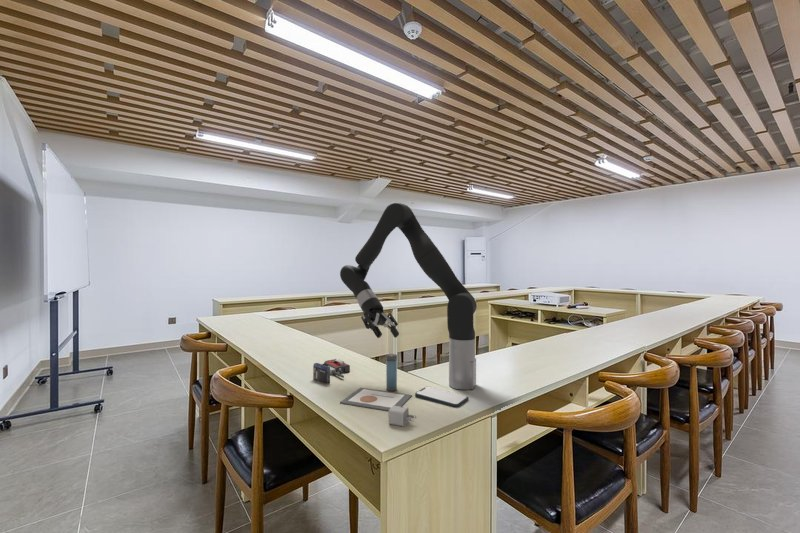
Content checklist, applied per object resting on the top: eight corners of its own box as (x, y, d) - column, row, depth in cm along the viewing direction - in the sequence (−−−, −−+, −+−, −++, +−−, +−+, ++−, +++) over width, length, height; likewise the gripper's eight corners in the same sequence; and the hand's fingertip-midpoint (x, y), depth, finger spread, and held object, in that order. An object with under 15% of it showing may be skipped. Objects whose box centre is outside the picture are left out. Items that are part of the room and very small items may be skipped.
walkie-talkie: (317, 368, 149) (340, 381, 134) (317, 358, 149) (340, 369, 133) (336, 365, 155) (360, 376, 139) (336, 355, 155) (360, 365, 139)
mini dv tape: (313, 379, 135) (313, 363, 135) (316, 378, 136) (316, 362, 136) (326, 384, 130) (326, 367, 129) (330, 383, 131) (329, 366, 131)
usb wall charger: (394, 418, 101) (394, 404, 101) (417, 423, 98) (417, 408, 98) (388, 424, 97) (388, 410, 97) (412, 429, 94) (412, 414, 94)
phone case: (469, 401, 115) (427, 390, 124) (469, 396, 115) (427, 385, 124) (457, 410, 108) (413, 397, 117) (457, 405, 108) (413, 392, 117)
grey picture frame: (411, 396, 118) (411, 394, 118) (396, 412, 105) (396, 410, 105) (360, 388, 125) (360, 386, 125) (340, 403, 112) (340, 401, 112)
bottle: (398, 388, 125) (398, 354, 125) (394, 392, 121) (394, 357, 121) (388, 387, 126) (388, 353, 126) (384, 390, 122) (384, 356, 122)
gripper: (360, 295, 130) (379, 329, 121) (387, 297, 141) (407, 329, 131) (350, 309, 133) (368, 343, 124) (378, 310, 144) (397, 342, 134)
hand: (388, 336), depth 128 cm, fingers open, 8 cm apart
